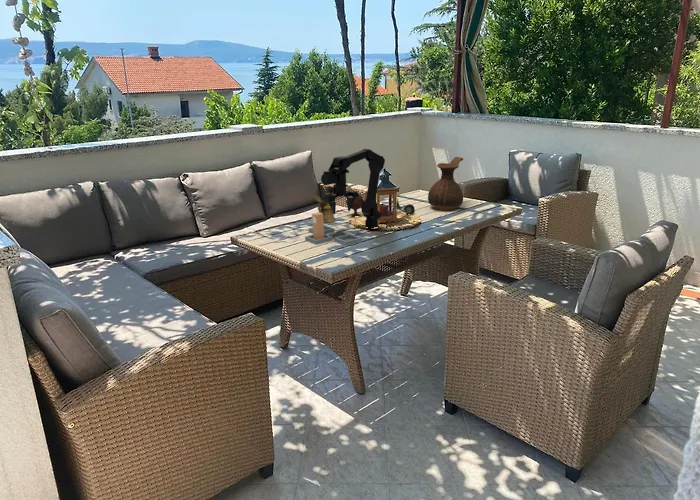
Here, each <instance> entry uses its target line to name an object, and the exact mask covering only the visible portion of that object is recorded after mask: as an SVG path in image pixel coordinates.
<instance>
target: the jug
mask: <svg viewBox="0 0 700 500" xmlns="http://www.w3.org/2000/svg"><path fill="white" fill-rule="evenodd" d="M463 160H464V157H459V156H455V157H453V158H452V160H451V161H450V162H447V163H446V162H445V163H444V162H442V163H441V162H440V163H438V164H436V166H437V168H438V169H440V171H441V176H440V179H439V180H437V181H435V183H433V185H432V186H431V187H430V188H429V191H428V193H427V199H428V200H427V202H428V203H429V205H430V206H431V207H433V208H435V210H438V209H439V211H444V212H445V211H446V212H447V211H448V210H449V211H454V210H456V209H457V208H459V207H460V206H462V204H463V202H464V194H463V190H462V189H461V187H460V184H458V183H457V182H456V181H455V179H454V172H455V170H456V169H458V168H459V164H460V162H461V161H463ZM449 211H448V212H449Z"/></svg>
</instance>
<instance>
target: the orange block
mask: <svg viewBox="0 0 700 500" xmlns="http://www.w3.org/2000/svg"><path fill="white" fill-rule="evenodd" d="M311 216H312V227H313V233H312V235H313V239H315V240H318V239H323V238H324V225H325V223H324V220H323V213H319V211H318V212H314V213H311Z"/></svg>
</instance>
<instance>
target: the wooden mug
mask: <svg viewBox="0 0 700 500" xmlns="http://www.w3.org/2000/svg"><path fill="white" fill-rule="evenodd" d="M312 197H313V198H314V200H315V201H316V202H317V203H318V204H317V211H318V212H319V213H323V220H324V224H331V223H334V222H336V218H335V214H333V212H332V209H331V207H330V205H329V203H328V202H325V201H323V198H321V196H320V195H318V194H317V193H314V192H313V193H312Z"/></svg>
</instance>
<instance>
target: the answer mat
mask: <svg viewBox="0 0 700 500" xmlns="http://www.w3.org/2000/svg"><path fill="white" fill-rule="evenodd" d="M328 235H329V236H332V237H333V240H334V238H335V237H339V236H343V235H347V233H343V232H334V233H329V234H328Z"/></svg>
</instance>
